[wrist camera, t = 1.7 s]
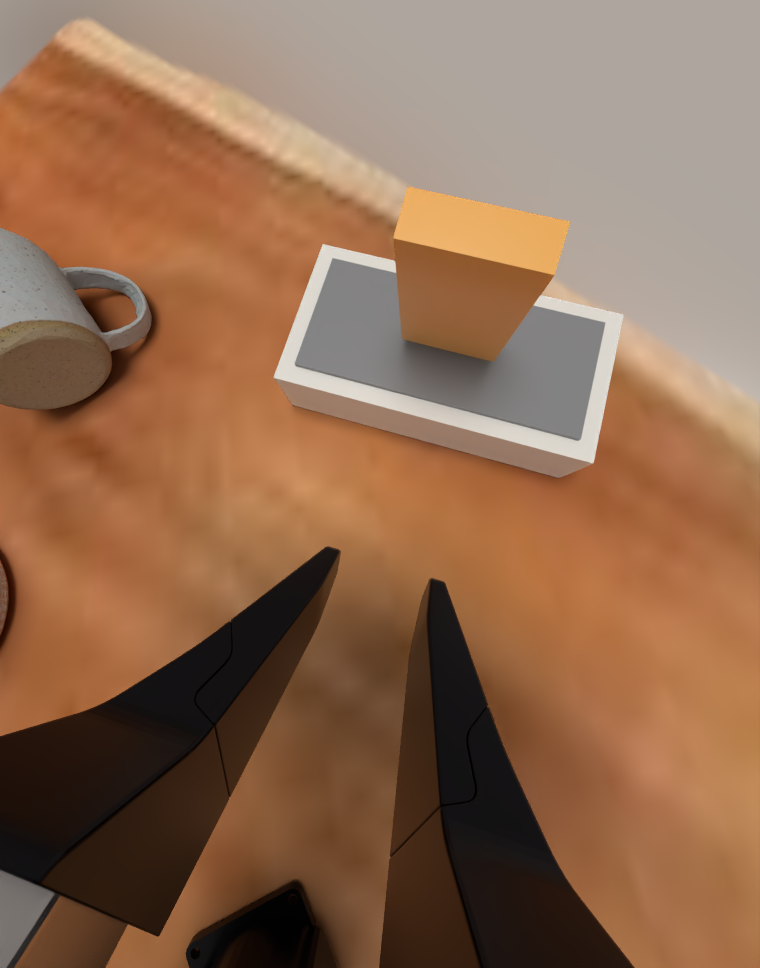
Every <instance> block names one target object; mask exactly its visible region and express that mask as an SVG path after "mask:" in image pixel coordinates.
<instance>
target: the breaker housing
mask: <svg viewBox="0 0 760 968" xmlns="http://www.w3.org/2000/svg"><path fill="white" fill-rule="evenodd" d="M622 320H623V314H619V313H615V312H611V311H606V310H602V309H598V308H593V307H589V306H585V305H581V304H576V303H572V302H568V301H564V300H559V299H555V298H551V297H546V296H542V295H540V296H539V298H538V299H537V301H536V302H535V304H534V305H533V306H532V308H531V309H530V311H529V312H528V314H527V315H526V316H525V318H524V319H523V321H522V322H521V324H520V325H519V326H518V328H517V329H516V331H515V332H514V333H513V335H512V336H511V338H510V339H509V341H508V342H507V343H506V345H505V346H504V348H503V349H502V351H501V352H500V353H499V355H498V356H497V358H496V359H495V361H494V362H491V361H487V360H483V359H479V358H475V357H471V356H467V355H463V354H460V353H456V352H452V351H448V350H444V349H440V348H436V347H432V346H428V345H424V344H420V343H416V342H412V341H408V340H404V339H402V334H401V322H400V310H399V299H398V287H397V275H396V264H395V261H393V260H388V259H384V258H380V257H376V256H371V255H367V254H363V253H358V252H354V251H350V250H346V249H341V248H337V247H333V246H329V245H324V244H323V245H322V248H321V250H320V253H319V256H318V259H317V261H316V264H315V267H314V269H313V272H312V275H311V278H310V280H309V283H308V286H307V288H306V291H305V294H304V297H303V299H302V302H301V305H300V307H299V310H298V313H297V316H296V318H295V321H294V324H293V326H292V329H291V332H290V335H289V337H288V340H287V343H286V345H285V348H284V351H283V354H282V356H281V359H280V362H279V364H278V367H277V370H276V372H275V375H274V379H275V380H276V382H277V383H278V385H279V386H280V388H281V389H282V391H283V392H284V394H285V395H286V396H287V398H288V399H289V401H290V402H291V404H292V405H294V406H297V407H301V408H305V409H308V410H312V411H316V412H319V413H323V414H327V415H330V416H334V417H338V418H341V419H345V420H349V421H352V422H356V423H360V424H363V425H367V426H370V427H374V428H378V429H381V430H385V431H389V432H392V433H396V434H400V435H403V436H407V437H411V438H414V439H418V440H422V441H425V442H429V443H433V444H436V445H440V446H444V447H447V448H451V449H454V450H458V451H462V452H465V453H469V454H473V455H476V456H480V457H484V458H487V459H491V460H495V461H498V462H502V463H506V464H509V465H513V466H517V467H520V468H524V469H528V470H531V471H535V472H538V473H542V474H546V475H549V476H553V477H557V478H561V477H563V476H565V475H568V474H570V473H572V472H575V471H577V470H579V469H582V468H584V467H586V466H589V465H591V464H593V463H594V458H595V453H596V448H597V443H598V438H599V433H600V428H601V423H602V419H603V414H604V409H605V404H606V399H607V394H608V389H609V384H610V379H611V374H612V369H613V365H614V360H615V355H616V350H617V345H618V340H619V335H620V330H621V325H622Z"/></svg>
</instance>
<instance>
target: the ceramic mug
mask: <svg viewBox="0 0 760 968" xmlns="http://www.w3.org/2000/svg"><path fill="white" fill-rule="evenodd" d="M89 288H100V289H110V290H115V291H118V292H120V293H124V294H126V295H127V296H128V297H130V298H131V300H132V302H133V303H134V305H135V307H136V308H137V310H136V315H137V319H136V320H135V321H133V322H132V323H131V324H129V325H126V326H124V327H122V328H120V329H117V330H112V331H109V332H105V333H103V332H101V330H100V329H99V327H98V326H97V324H96V323H95V321H94V320H93V318H92V316H91V315H90V314H89V313H88V312H87V310H86V309H85V307H84V305H83V304H82V302H81V300H80V299H79V297H78V295H77V294H76V292H75V291H74V290H77V289H89ZM151 322H152V318H151V312H150V310H149V306H148V303H147V301H146V298H145V296H144V294H143V293H142V291H141V289H140V288H139V287H138V286H137V285H136V284H135V283H134V282H133V281H131V280H130V279H129V278H127V277H125V276H123V275H121V274H118V273H115V272H112V271H108V270H104V269H99V268H88V267H71V268H60V267H58V266H57V264H56V263H55V262H54V261H53V260H52V259H51V257H50V256H49V255H48V254H47V253H46V252H45V251H43V250H42V249H41V248H39V247H38V246H37V245H35V244H34V243H32V242H31V241H30V240H28V239H26V238H24V237H22V236H20V235H17V234H15V233H12V232H10V231H7V230H5V229H2V228H0V404H3V405H6V406H9V407H14V408H19V409H31V410H45V409H55V408H59V407H64V406H68V405H71V404H74V403H77V402H79V401H81V400H83V399H85V398H87V397H89V396H90V395H92V394H93V393H94V392H96V391H97V390H98V389H99V388H100V387H101V386H102V385H103V384H104V382H105V381H106V379H107V378H108V376H109V374H110V371H111V368H112V358H111V351H112V350H116V349H122V348H125V347H129V346H131V345H132V344H134V343H135V342H138V341H139V340H140V339H143V338H144V337H145V336H146V334H147V333H148V331H149V330H150V327H151Z"/></svg>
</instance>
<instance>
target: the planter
mask: <svg viewBox="0 0 760 968" xmlns="http://www.w3.org/2000/svg"><path fill="white" fill-rule="evenodd" d="M8 603H9V592H8V581H7V577H6V573H5V570H4V567H3V564H2V562H1V560H0V636H1V633H2V630H3V627H4V624H5V620H6V616H7V611H8Z"/></svg>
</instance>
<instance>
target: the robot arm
mask: <svg viewBox="0 0 760 968" xmlns="http://www.w3.org/2000/svg"><path fill="white" fill-rule="evenodd" d="M340 553H341V552H340V550H339V549H335V548H332V547H325V548H324V549H323V550H321V551H320V552H319V553H317V554H316V555H315V556H313V557H312V558H311V559H310V560H308V561H307V562H306V563H304V564H303V565H302V566H300V567H299V568H298V569H297V570H295V571H294V572H293V573H291V574H290V575H289V576H287V577H286V578H285V579H284V580H282V581H281V582H280V583H278V584H277V585H276V586H274V587H273V588H272V589H271V590H269V591H268V592H267V593H265V594H264V595H263V596H261V597H260V598H259V599H258V600H256V601H255V602H254V603H252V604H251V605H250V606H248V607H247V608H246V609H245V610H243V611H242V612H241V613H239V614H238V615H237V616H235V617H234V618H233V619H232V620H231V622H227V623H226V624H225V625H224V626H222V627H221V628H220V629H218V630H217V631H216V632H214V633H213V634H212V635H210V636H209V637H208V638H206V639H205V640H203V641H202V642H201V643H199V644H198V645H196V646H195V647H193V648H192V649H190V650H189V651H187V652H186V653H184V654H183V655H181V656H180V657H178V658H177V659H175V660H173V661H172V662H170V663H169V664H167V665H165V666H164V667H162V668H161V669H159V670H157V671H156V672H154V673H153V674H151V675H149V676H148V677H146V678H145V679H143V680H141V681H140V682H138V683H137V684H135V685H133V686H132V687H130V688H129V689H127V690H126V691H124V692H122V693H121V694H119V695H117V696H116V697H114V698H112V699H110V700H108V701H106V702H104V703H102V704H100V705H98V706H96V707H93V708H91V709H88V710H86V711H83V712H80V713H77V714H73V715H70V716H67V717H63V718H60V719H57V720H53V721H50V722H47V723H43V724H40V725H36V726H33V727H30V728H26V729H23V730H20V731H16V732H13V733H10V734H6V735H3V736H0V968H105V967H106V966H107V964H108V962H109V960H110V958H111V956H112V954H113V952H114V950H115V948H116V946H117V944H118V942H119V940H120V938H121V936H122V935H123V933H124V931H125V929H126V927H127V925H131V926H133V927H136V928H138V929H141V930H143V931H145V932H148V933H150V934H153V935H155V936H159V935H160V933H161V931H162V929H163V928H164V926H165V924H166V922H167V920H168V918H169V916H170V914H171V912H172V910H173V908H174V906H175V904H176V902H177V900H178V898H179V896H180V894H181V892H182V890H183V888H184V887H185V885H186V883H187V881H188V879H189V877H190V875H191V873H192V871H193V869H194V867H195V865H196V863H197V861H198V859H199V857H200V855H201V853H202V851H203V849H204V847H205V845H206V844H207V842H208V840H209V838H210V836H211V834H212V832H213V830H214V828H215V826H216V824H217V822H218V820H219V818H220V816H221V814H222V812H223V810H224V808H225V806H226V804H227V802H228V800H229V797H230V796H231V794H232V792H233V790H234V789H235V787H236V785H237V783H238V781H239V779H240V777H241V775H242V773H243V771H244V769H245V767H246V765H247V763H248V761H249V759H250V757H251V755H252V753H253V751H254V749H255V747H256V745H257V743H258V742H259V740H260V738H261V736H262V734H263V732H264V730H265V728H266V726H267V724H268V722H269V720H270V718H271V716H272V714H273V712H274V710H275V708H276V706H277V704H278V702H279V700H280V698H281V696H282V695H283V693H284V691H285V689H286V687H287V685H288V683H289V681H290V679H291V677H292V675H293V673H294V671H295V669H296V667H297V665H298V663H299V661H300V659H301V657H302V655H303V653H304V651H305V649H306V647H307V646H308V644H309V642H310V640H311V638H312V636H313V634H314V632H315V630H316V628H317V625H318V623H319V621H320V618H321V615H322V613H323V610H324V607H325V605H326V602H327V599H328V596H329V594H330V591H331V588H332V586H333V583H334V580H335V577H336V574H337V571H338V565H339V560H340ZM487 706H488V703H487V700H486V697H485V694H484V692H483V689H482V686H481V683H480V680H479V678H478V675H477V672H476V669H475V666H474V663H473V661H472V658H471V655H470V652H469V649H468V646H467V644H466V641H465V638H464V635H463V632H462V629H461V627H460V624H459V621H458V618H457V615H456V613H455V610H454V607H453V604H452V601H451V598H450V596H449V593H448V590H447V587H446V584H445V583H444V582H443V581H440V580H437V579H433V578H431V579H429V581H428V584H427V586H426V589H425V591H424V594H423V596H422V600H421V603H420V608H419V612H418V617H417V622H416V626H415V631H414V635H413V640H412V644H411V650H410V655H409V663H408V673H407V684H406V694H405V704H404V715H403V725H402V736H401V746H400V757H399V767H398V777H397V788H396V798H395V809H394V819H393V830H392V840H391V850H390V857H391V858H390V860H389V870H388V881H387V891H386V902H385V912H384V923H383V933H382V944H381V954H380V965H379V968H634V966H633V965H632V964H631V962H630V961H629V960H628V959H627V957H626V956H625V955H624V953H623V952H622V951H621V950H620V948H619V947H618V946H617V944H616V943H615V942H614V941H613V939H612V938H611V937H610V936H609V934H608V933H607V932H606V930H605V929H604V928H603V927H602V925H601V924H600V923H599V921H598V920H597V919H596V918H595V916H594V915H593V914H592V912H591V911H590V910H589V909H588V907H587V906H586V905H585V904H584V902H583V901H582V900H581V898H580V897H579V896H578V894H577V893H576V892H575V890H574V889H573V887H572V886H571V885H570V883H569V882H568V880H567V879H566V877H565V875H564V874H563V872H562V870H561V869H560V867H559V865H558V863H557V861H556V860H555V858H554V856H553V854H552V852H551V850H550V848H549V846H548V843H547V841H546V839H545V837H544V835H543V833H542V830H541V828H540V826H539V824H538V822H537V820H536V817H535V815H534V813H533V811H532V809H531V807H530V804H529V802H528V800H527V798H526V796H525V794H524V791H523V789H522V787H521V785H520V783H519V781H518V778H517V776H516V774H515V772H514V769H513V767H512V765H511V762H510V760H509V758H508V756H507V753H506V751H505V749H504V746H503V744H502V741H501V738H500V736H499V733H498V730H497V728H496V725H495V722H494V720H493V717H492V714H491V711H490V708H489V707H487ZM291 894H294V895H296V897H297V898H295V899H293V898H291V896H290V895H291ZM195 948H199V950H200V951H197V950H196V949H195ZM186 958H187V961H188V965H189V968H336V965H335V962H334V960H333V957H332V955H331V952H330V949H329V947H328V944H327V942H326V939H325V936H324V934H323V931H322V929H321V927H320V926H319V925H317V924H316V921H315V919H314V916H313V913H312V911H311V908H310V906H309V903H308V900H307V898H306V895H305V892H304V890H303V888H302V886H301V885H300V884H299V883H297V882H292V883H290V884H288V885H286V886H284V887H282V888H280V889H279V890H277V891H275V892H273V893H271V894H270V895H268V896H266V897H264V898H262V899H260V900H259V901H257V902H255V903H253V904H251V905H250V906H248V907H246V908H244V909H242V910H240V911H239V912H237V913H235V914H233V915H231V916H230V917H228V918H226V919H224V920H222V921H220V922H219V923H217V924H215V925H213V926H211V927H210V928H208V929H206V930H204V931H202V932H200V933H199V934H197V935H195V936H194V937H193V938H192V940H191V942H190V944H189V946H188V948H187V951H186Z"/></svg>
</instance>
